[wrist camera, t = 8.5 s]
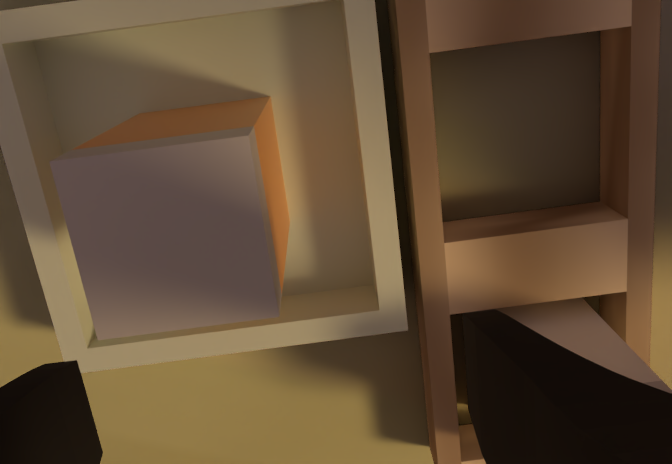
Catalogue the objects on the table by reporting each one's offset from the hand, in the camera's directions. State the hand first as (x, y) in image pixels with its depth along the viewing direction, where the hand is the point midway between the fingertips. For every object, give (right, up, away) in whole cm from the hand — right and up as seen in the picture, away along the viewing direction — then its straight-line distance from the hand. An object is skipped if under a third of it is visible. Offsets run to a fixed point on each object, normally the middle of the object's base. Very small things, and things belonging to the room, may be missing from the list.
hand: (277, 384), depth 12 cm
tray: (-3, +5, +9) cm, 10 cm away
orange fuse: (-3, +5, +8) cm, 10 cm away
